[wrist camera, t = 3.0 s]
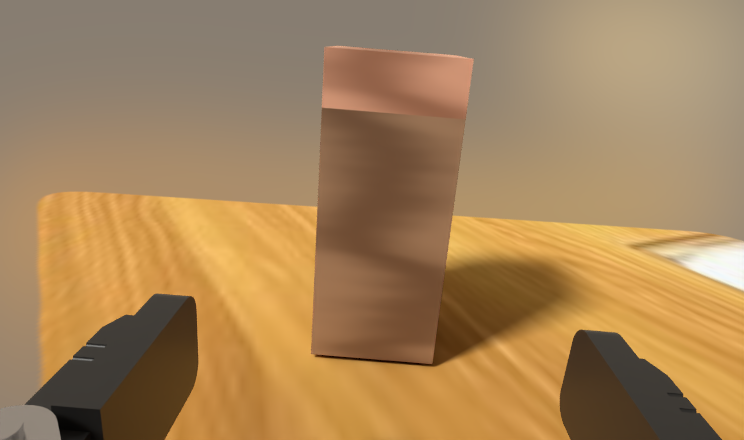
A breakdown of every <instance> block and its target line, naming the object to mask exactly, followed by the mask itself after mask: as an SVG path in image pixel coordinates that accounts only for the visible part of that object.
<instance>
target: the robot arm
mask: <svg viewBox="0 0 744 440" xmlns="http://www.w3.org/2000/svg"><path fill="white" fill-rule="evenodd" d="M197 370H198V340H197V313H196V303H195V300H194V298H193V297H191V296H180V295H168V294H154V295H153V296H152V297H151V298H150V299H149V300H148V301H147V302H146V303H145V304H144V306H143V307H142V308H141V309H140V310H139V311H138V312H137V313H136V314H135V315H134V316H133V315H124V316H123V317H121V318H119V319H117V320H115V321H113V322H111V323H109V324H107V325H106V326H104V327H102V328H101V329H100V330H99V331H98V332H97V333H96V334H95V335H94V336H93V337H92V338H91V339H90V340H89V341H88V342H87V343H86V346H83V347H82V348H81V349H80V350H79V351H78V352H77V353H76V354H75V355H74V356H73V359H72V360H69V361H68V362H67V363H66V364H65V365H64V366H63V367H62V368H61V369H60V370H59V371H58V372H57V373H56V374H55V375H54V376H53V377H52V378H51V379H50V380H49V381H48V382H47V383H46V384H45V385H44V386H43V387H42V388H41V389H40V390H39V391H38V392H37V393H36V394H35V395H34V396H33V397H32V398H31V399H30V400H29V401H28V402H27V403H26V404H25V405H17V406H10V407H5V408H1V409H0V440H164V439H165V438H166V436H167V434H168V432H169V431H170V429H171V427H172V425H173V423H174V422H175V420H176V418H177V416H178V414H179V413H180V411H181V409H182V407H183V406H184V404H185V402H186V400H187V398H188V397H189V395H190V393H191V391H192V389H193V387H194V384H195V380H196V376H197ZM560 412H561V417H562V421H563V424H564V426H565V428H566V430H567V433H568V435H569V437H570V439H571V440H722V439H721V438H720V437H719V436H718V434H717V433H716V432H715V431H714V430H713V429H712V427H711V426H710V425H709V424H708V423H707V421H706V420H705V419H704V418H703V417H702V416H701V414H700V413H696V408H695V407H694V406H693V405H692V404H691V403H690V401H689V400H688V399H687V398H685V397H683V393H682V392H681V391H680V390H679V388H678V387H677V386H676V385H675V384H674V383H673V381H672V380H671V379H670V378H669V377H668V375H666V374H665V373H663V372H662V371H660V370H659V369H658V368H656V367H655V366H653V365H652V364H650V363H649V362H648V361H646V360H645V359H639V358H638V357H637V355H636V354H635V353H634V352H633V350H632V349H631V348H630V347H629V345H628V344H627V343H626V342H625V340H624V339H623V338H622V337H621V336H620V335H619V334H618V333H614V332H602V331H590V330H579V331H577V333H576V334H575V336H574V338H573V342H572V346H571V350H570V355H569V359H568V363H567V367H566V371H565V376H564V380H563V384H562V388H561V393H560Z"/></svg>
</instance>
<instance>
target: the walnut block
mask: <svg viewBox="0 0 744 440" xmlns="http://www.w3.org/2000/svg"><path fill="white" fill-rule="evenodd" d="M473 61H474V60H473V59H470V58H466V57H460V56H455V55H444V54H430V53H419V52H406V51H394V50H383V49H370V48H358V47H346V46H331V47H325V50H324V73H323V95H322V118H321V119H322V120H321V142H320V165H319V186H318V209H317V232H316V255H315V278H314V301H313V324H312V346H311V354H317V355H329V356H342V357H354V358H366V359H378V360H390V361H403V362H415V363H427V364H432V363H433V355H434V348H435V341H436V333H437V326H438V319H439V311H440V304H441V297H442V289H443V282H444V274H445V267H446V260H447V252H448V245H449V238H450V230H451V223H452V216H453V208H454V201H455V194H456V185H457V179H458V171H459V164H460V157H461V148H462V141H463V134H464V127H465V120H466V113H467V104H468V98H469V90H470V83H471V76H472V68H473Z"/></svg>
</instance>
